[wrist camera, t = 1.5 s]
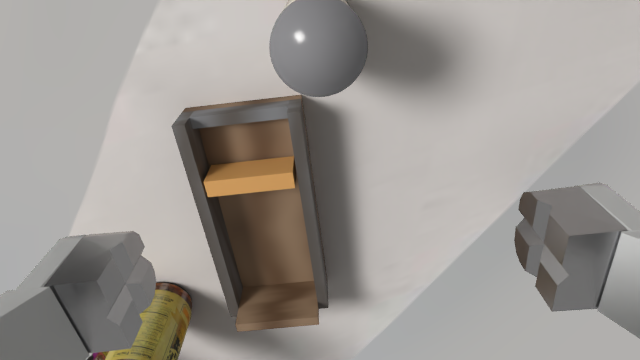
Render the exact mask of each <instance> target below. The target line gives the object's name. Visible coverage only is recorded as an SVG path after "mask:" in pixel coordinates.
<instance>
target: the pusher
mask: <svg viewBox="0 0 640 360" xmlns="http://www.w3.org/2000/svg"><path fill="white" fill-rule="evenodd" d="M295 183H296V165H295V159H294V156H290V157H281V158H272V159H262V160H253V161H244V162H235V163H226V164H216V165H211V167H210V169H209V171H208V173H207V175H206V178H205V180H204V185H205V189H206V192H207V196H208V197H216V196H225V195H235V194H244V193H254V192H263V191H273V190H282V189H292V188H295Z"/></svg>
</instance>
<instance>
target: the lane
mask: <svg viewBox="0 0 640 360" xmlns="http://www.w3.org/2000/svg"><path fill="white" fill-rule="evenodd" d="M172 129H173V132H174V135H175V139H176V142H177V145H178V148H179V151H180V155H181V158H182V161H183V164H184V167H185V171H186V174H187V177H188V180H189V184H190V187H191V190H192V193H193V196H194V200H195V203H196V206H197V209H198V212H199V216H200V219H201V222H202V225H203V229H204V232H205V235H206V238H207V241H208V245H209V248H210V251H211V254H212V257H213V261H214V264H215V267H216V270H217V273H218V277H219V280H220V283H221V286H222V290H223V293H224V296H225V299H226V302H227V306H228V309H229V312H230V315H231V317H233V316H237V319H236V324H235V325H236V328H237V332H240V331H251V330H262V329H273V328H284V327H295V326H306V325H317V324H319V309H320V308H328V286H327V274H326V267H325V260H324V253H323V246H322V239H321V232H320V224H319V217H318V210H317V203H316V196H315V189H314V182H313V174H312V167H311V160H310V153H309V146H308V139H307V132H306V124H305V117H304V110H303V103H302V96H301V95H295V96H287V97H278V98H269V99H261V100H252V101H243V102H235V103H226V104H217V105H208V106H200V107H191V108H185V109H184V111H183V112H182V113H181V115H180V116H179V117H178V118H177V120H176V121H175V122H174V124H173V125H172ZM290 156H294V159H295V165H296V183H295V188H292V189H282V190H273V191H263V192H254V193H244V194H235V195H225V196H216V197H208V196H207V192H206V189H205V185H204V180H205V178H206V175H207V173H208V171H209V169H210V167H211V165H216V164H226V163H235V162H244V161H253V160H262V159H272V158H281V157H290Z"/></svg>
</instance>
